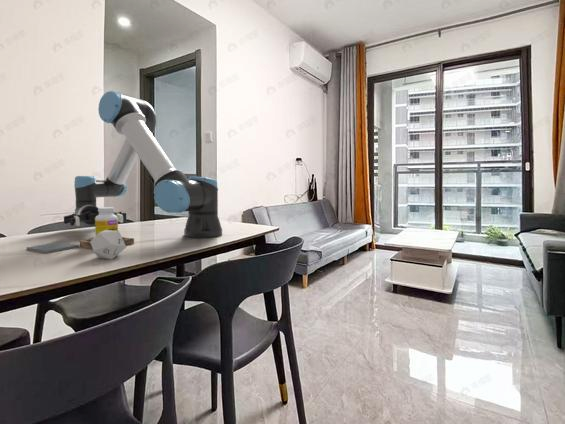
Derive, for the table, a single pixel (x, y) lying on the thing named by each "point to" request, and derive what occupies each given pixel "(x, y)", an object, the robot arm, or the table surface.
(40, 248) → the slate coaster
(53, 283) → the table surface
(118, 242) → the die
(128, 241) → the walnut frame
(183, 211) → the robot arm
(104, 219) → the supplement bottle
